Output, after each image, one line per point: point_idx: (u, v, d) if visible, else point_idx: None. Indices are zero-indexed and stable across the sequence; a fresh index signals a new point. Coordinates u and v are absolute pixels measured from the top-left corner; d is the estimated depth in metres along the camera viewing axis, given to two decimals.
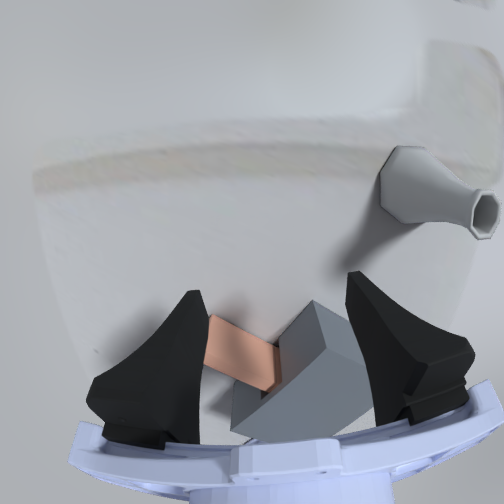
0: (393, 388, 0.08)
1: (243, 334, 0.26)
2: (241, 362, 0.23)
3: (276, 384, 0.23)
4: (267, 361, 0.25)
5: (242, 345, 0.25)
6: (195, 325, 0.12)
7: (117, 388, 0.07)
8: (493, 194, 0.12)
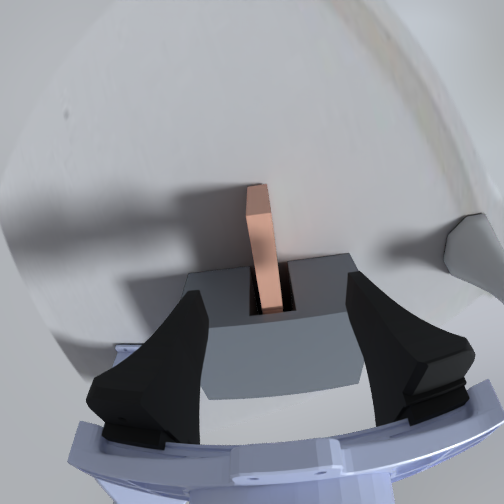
0: (393, 388, 0.08)
1: None
2: None
3: (281, 309, 0.19)
4: None
5: None
6: (195, 325, 0.12)
7: (117, 388, 0.07)
8: None
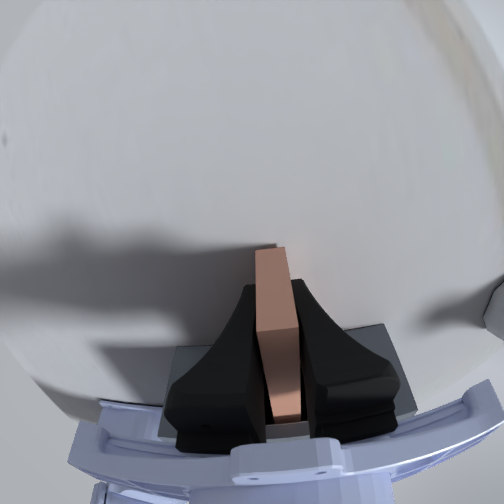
0: (311, 404, 0.08)
1: None
2: None
3: (298, 415, 0.13)
4: None
5: None
6: None
7: (210, 392, 0.06)
8: None
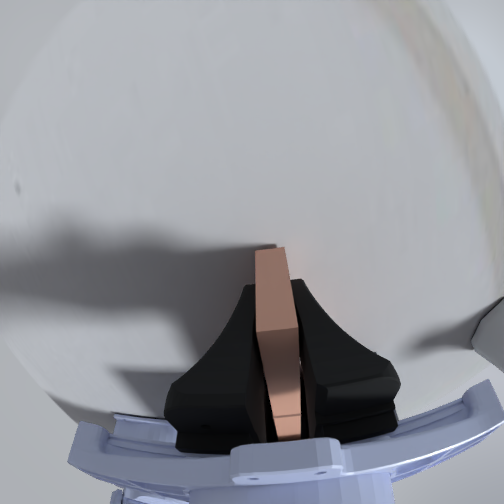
0: (311, 405, 0.08)
1: None
2: None
3: (298, 415, 0.13)
4: None
5: None
6: None
7: (209, 393, 0.06)
8: None
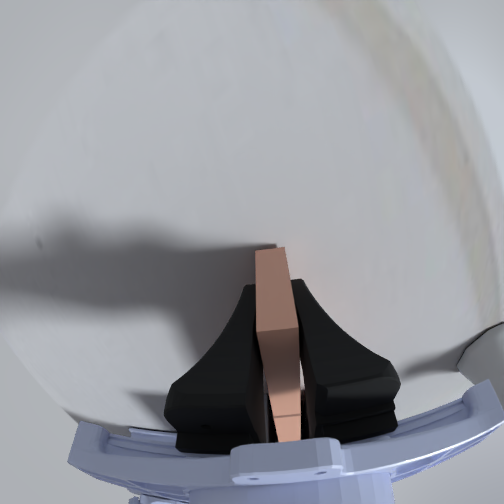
0: (311, 405, 0.08)
1: None
2: None
3: (298, 415, 0.13)
4: None
5: None
6: None
7: (210, 393, 0.06)
8: None
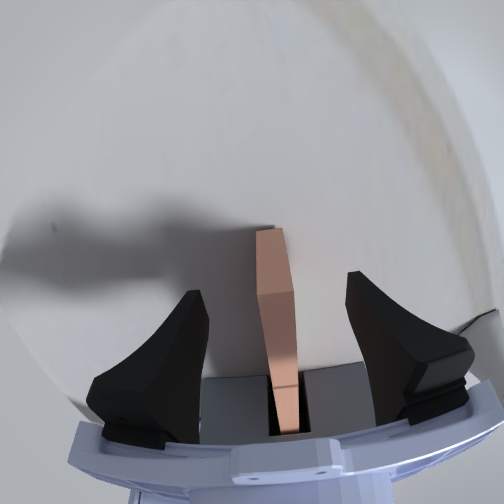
0: (393, 388, 0.08)
1: None
2: None
3: (296, 387, 0.14)
4: None
5: None
6: (195, 325, 0.12)
7: (117, 388, 0.07)
8: None
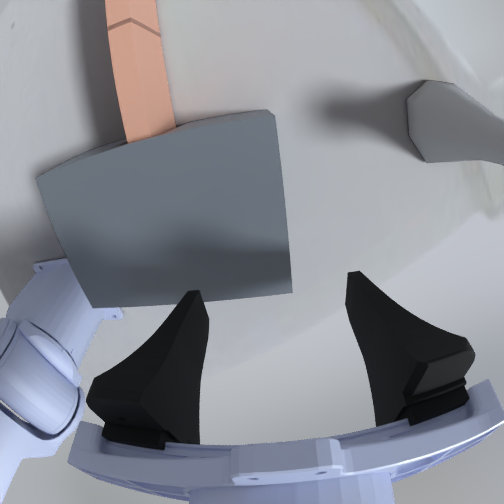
0: (393, 388, 0.08)
1: None
2: None
3: (129, 22, 0.09)
4: (144, 17, 0.11)
5: None
6: (195, 325, 0.12)
7: (117, 388, 0.07)
8: None
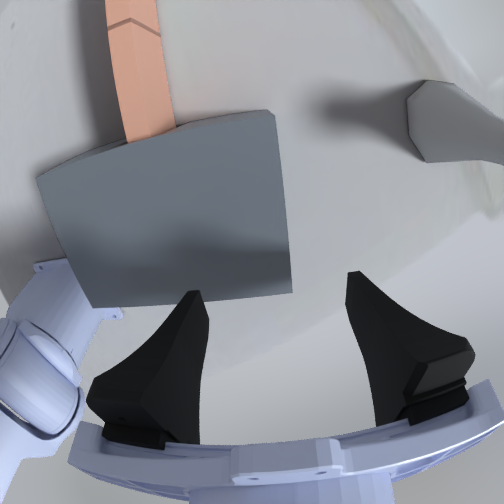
0: (393, 388, 0.08)
1: None
2: None
3: (129, 22, 0.09)
4: (144, 17, 0.11)
5: None
6: (195, 325, 0.12)
7: (117, 388, 0.07)
8: None
